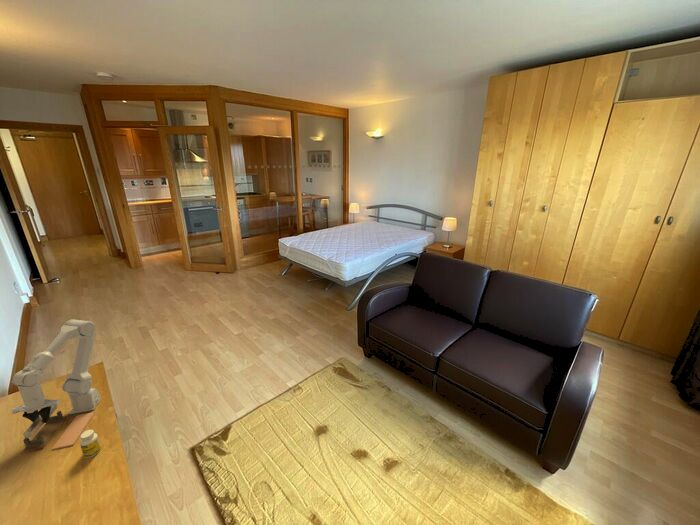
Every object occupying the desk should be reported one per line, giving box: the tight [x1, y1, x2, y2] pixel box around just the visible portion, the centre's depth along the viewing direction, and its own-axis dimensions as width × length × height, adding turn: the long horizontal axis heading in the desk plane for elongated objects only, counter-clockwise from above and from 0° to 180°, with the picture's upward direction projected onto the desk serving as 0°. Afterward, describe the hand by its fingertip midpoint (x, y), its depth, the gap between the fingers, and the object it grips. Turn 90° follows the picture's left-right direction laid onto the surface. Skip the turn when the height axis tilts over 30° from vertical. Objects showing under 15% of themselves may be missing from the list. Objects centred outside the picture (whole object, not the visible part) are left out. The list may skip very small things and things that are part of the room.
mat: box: [51, 411, 96, 451], centre depth 125 cm, size 7×18×1 cm, turn 18°
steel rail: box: [23, 406, 58, 439], centre depth 120 cm, size 16×2×2 cm, turn 18°
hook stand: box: [22, 410, 68, 454], centre depth 122 cm, size 17×6×5 cm, turn 19°
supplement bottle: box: [79, 429, 102, 459], centre depth 114 cm, size 5×5×10 cm
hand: (42, 421), depth 121 cm, fingers closed on steel rail, 2 cm apart
